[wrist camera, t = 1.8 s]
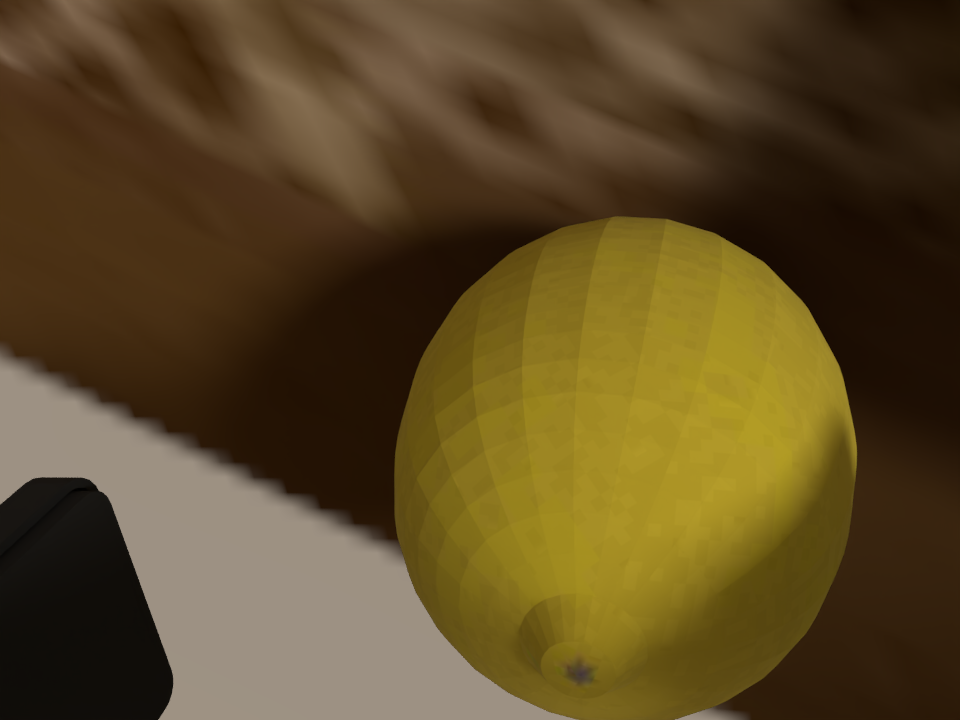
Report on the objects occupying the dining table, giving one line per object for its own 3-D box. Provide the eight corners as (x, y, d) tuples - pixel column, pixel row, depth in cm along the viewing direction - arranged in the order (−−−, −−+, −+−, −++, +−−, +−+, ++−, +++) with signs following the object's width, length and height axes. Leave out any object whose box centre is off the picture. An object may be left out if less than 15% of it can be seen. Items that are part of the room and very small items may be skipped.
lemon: (821, 460, 15) (899, 917, 8) (506, 460, 17) (354, 847, 10) (824, 135, 13) (936, 396, 6) (459, 169, 15) (220, 409, 8)
